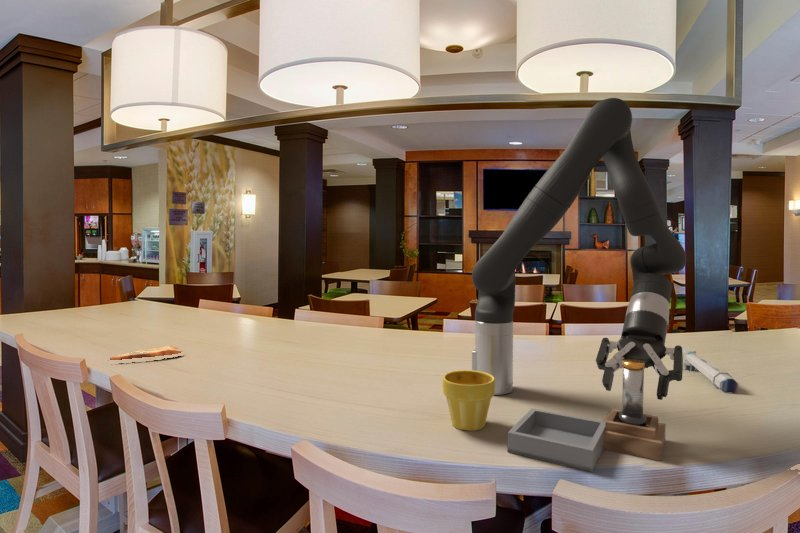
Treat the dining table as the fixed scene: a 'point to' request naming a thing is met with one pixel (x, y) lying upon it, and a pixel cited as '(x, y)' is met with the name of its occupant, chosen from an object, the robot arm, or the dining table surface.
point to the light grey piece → (708, 371)
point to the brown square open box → (635, 436)
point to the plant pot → (468, 397)
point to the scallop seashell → (155, 352)
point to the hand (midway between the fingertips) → (632, 392)
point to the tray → (558, 439)
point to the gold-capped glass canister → (633, 393)
